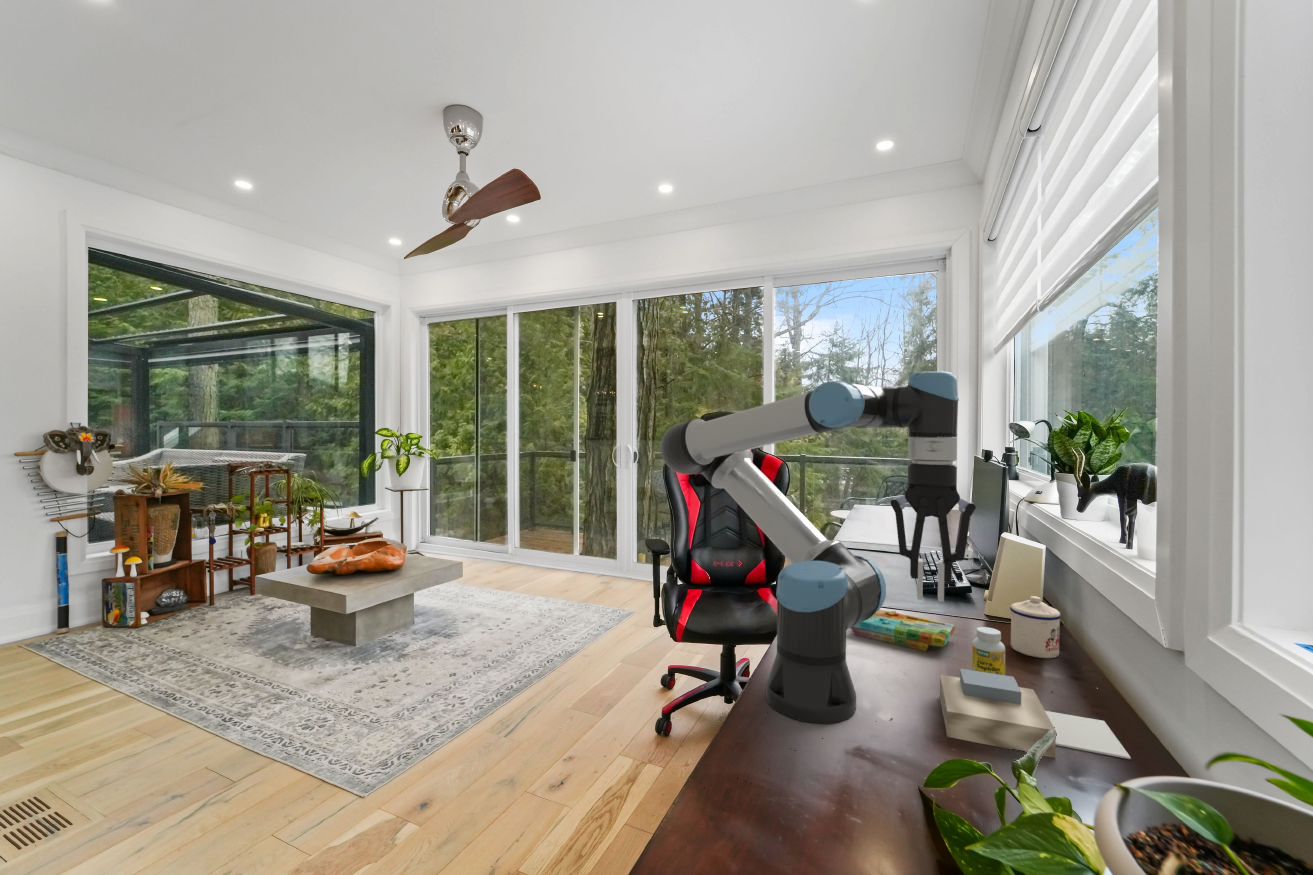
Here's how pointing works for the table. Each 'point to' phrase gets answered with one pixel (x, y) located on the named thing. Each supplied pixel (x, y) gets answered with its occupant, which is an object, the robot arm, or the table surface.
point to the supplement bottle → (988, 651)
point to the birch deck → (994, 718)
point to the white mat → (1086, 735)
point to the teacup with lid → (1035, 628)
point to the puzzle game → (904, 630)
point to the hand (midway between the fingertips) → (930, 598)
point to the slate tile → (990, 686)
